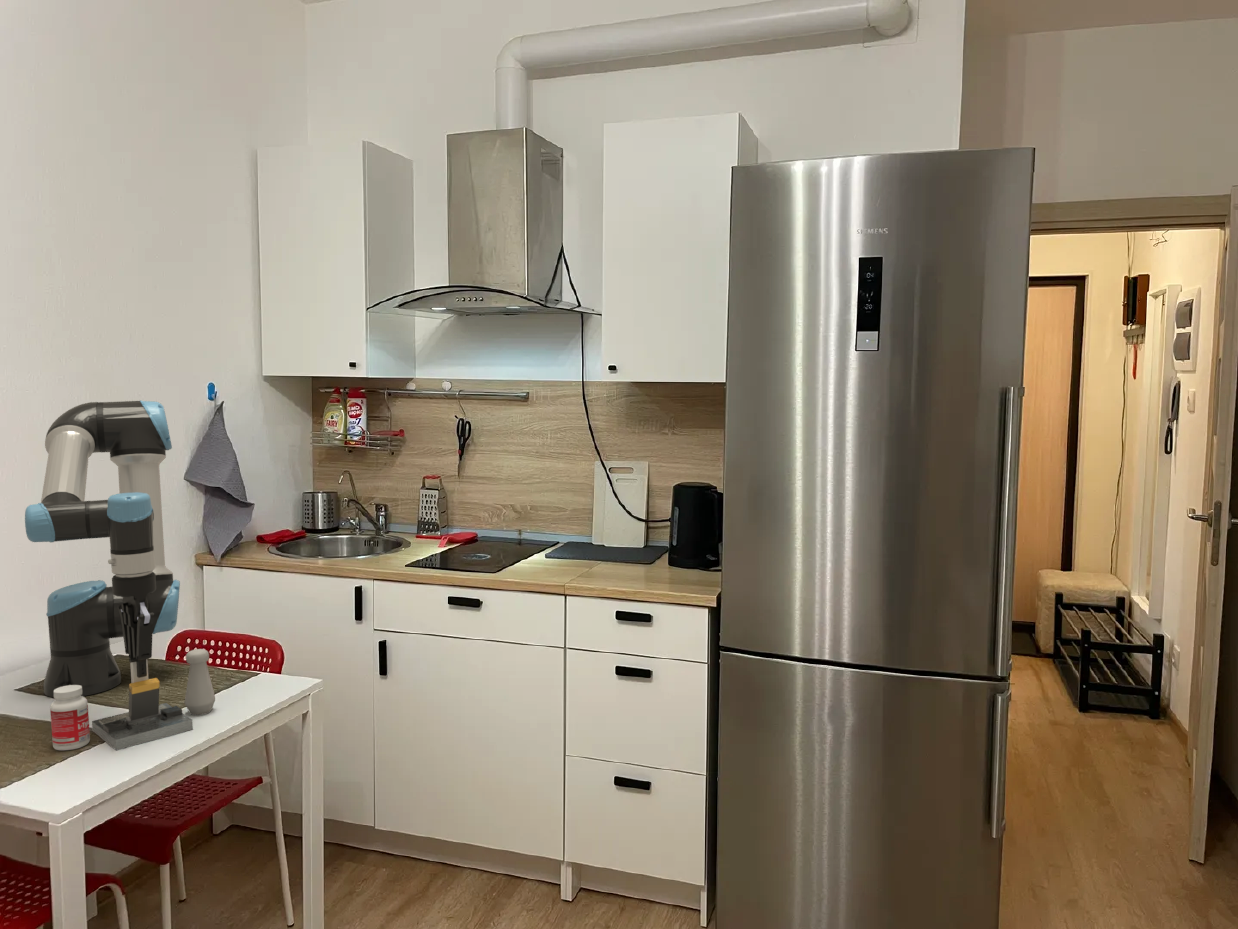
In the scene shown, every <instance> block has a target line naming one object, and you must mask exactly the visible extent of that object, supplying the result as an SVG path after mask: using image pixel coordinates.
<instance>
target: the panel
mask: <svg viewBox="0 0 1238 929" xmlns="http://www.w3.org/2000/svg"><path fill="white" fill-rule="evenodd" d="M159 710H160V712H161V715H160V716H157V717H153V718H149V719H145V720H141V721H137V722H133V723H129V724H127V722H126V718H127V717H128V715H129V711H127V712H123V713H120V714H119V713H118V714H114V715H111V716H107V717H103V718H100V719H94V720H91V729H92V732H93V733H95V735H97V736H98V737H99V738H100V739H102V740H103V741H104V742H106V743H107V744H108V745H109V746H111V747H112V748H113V749H114V750H116V751H118V750H122V749H125V748H129V747H133V746H136V745H139V744H144V743H147V742H152V741H156V740H159V739H162V738H166V737H170V736H174V735H177V734H181V733H185V732H188V731H193V730H194V725H193V719H192V718H190V717H189V716H188V715H186V714H184V713H183V709H182V708H181V707H179V706H178V705H174V706H172V705H170V704H168V703H167V702H165V703H159Z"/></svg>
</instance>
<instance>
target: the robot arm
mask: <svg viewBox="0 0 1238 929" xmlns="http://www.w3.org/2000/svg"><path fill="white" fill-rule="evenodd" d="M171 441H172V440H171V436H170V429H169V424H168V421H167V416H166V411H165V407H164V405H163V404H162V403H160V402H158V401H150V400H148V401H147V400H140V399H139V400H127V401H126V400H125V401H103V402H101V401H100V402H98V401H95V402H94V401H93V402H92V401H91V402H86V403H82V404H79V405H76V406H74V407H72V408H70V409H68V410H67V411H65V412H63V413H62V414H60V416H59V417H57V418H56V419H55V420H54V421H53V422H52V424H51V425H50V427H49V428H48V430H47V432H46V435H45V440H44V448H45V450H46V452H47V454H48V455H47V462H46V468H45V474H44V475H45V476H44V481H43V486H42V493H41V499H40V502H38V503H35V504H29V505H28V506H27V507H26V508H25V510H24V527H25V534H26V537H27V539H28V540H29V541H30V542H32V543H55V542H65V541H75V540H76V541H77V540H86V539H88V540H89V539H90V540H92V539H102V538H109V546H110V549H109V550H110V551H109V552H110V559H108V560H107V564H109V565H111V573H112V574H113V576H112V578H111V583H112V584H111V586H107V583H106V582H105V581H104V580H101V579H99V580H88V581H83V582H79V583H73V584H69V585H66V586H62V587H61V588H58V589H56V590H54V591H53V592H51V593H50V594H49V595H48V597H47V606H46V610H47V611H46V617H47V621H48V622H47V624H48V634H49V636H48V637H49V648H50V649H49V650H50V660H49V662H48V666H47V670H46V674H45V677H44V681H43V694H44V695H45V696H46V697H50V698H54V690H55V689H57V688H59V687H62V686H68V685H80V686H82V695H81V696H83V697H85V696H90V695H95V694H99V693H103V692H105V691H108V690H111V689H113V688H116V687H117V686H119V685H120V683H121V682H122V674H121V670H120V668H119V666H118V664H117V661H116V659H115V656H114V655H113V653H112V651H111V646H110V645H111V642H110V639H118V638H123V644H124V652H125V654H126V655H128V661H129V665H130V679H131V683H135V682H140V681H144V680H148V679H150V678H149V665H148V663H149V662H148V660H149V659H152V656H153V654H152V653H153V635H156V634H158V633H165V632H170V631H172V630H174V629H175V627H176V626H177V624H178V623H177V622H178V614H179V613H178V612H179V604H180V603H179V600H180V590H181V589H180V588H181V587H180V586H181V581H180V580H177V579H174V575H173V574H174V573H173V572H172V571H171V569H169V568H168V567H166V560H165V559H166V558H165V543H164V541H165V540H164V527H163V526H164V525H163V524H164V523H163V510H162V493H161V491H162V490H161V475H160V474H161V473H160V464H161V463H163V461H164V460H165V459H166V457H167V454H166V452H167V451H170V450H172V449H173V447H172V446H173V445H172V442H171ZM97 453H109V458H110V459H109V460H110V461H111V462H112V463H113V464H114V465H116V466H117V473H118V487H119V489H118V490H119V493H116V494H112V495H110V496H109V497H108V499H99V500H97V499H96V500H85V497H86V488H87V486H86V485H87V479H88V478H87V477H88V476H87V475H88V466H89V459H90V457H91V456H92V455H93V454H97Z"/></svg>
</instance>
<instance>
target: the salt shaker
mask: <svg viewBox="0 0 1238 929" xmlns="http://www.w3.org/2000/svg"><path fill="white" fill-rule="evenodd" d="M209 659H210V654H209V651H208V650H206V648H205V649H204V648H196V649H191V650H190V651H188V652H187V653H186V654H185V661H186V663H187V664H189V669H188V677H187V678H188V679H187V683H186V684H187V685H186V688H185V689H186V690H185V698H184V706H185V707H186V709H187V710H188V712H189V714H190V716H191V715H192V716H201V715H206V714H209V713H210V712H211V711H212V710H213V707H214V704H215V701H216V695H215V691H214V687H213V684H212V680H211V676H210V672H209V668H208V664H207V662H208V660H209Z"/></svg>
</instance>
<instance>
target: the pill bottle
mask: <svg viewBox="0 0 1238 929" xmlns="http://www.w3.org/2000/svg"><path fill="white" fill-rule="evenodd" d="M81 695H82V686H80V685H68V686H62V687H59V688H57V689H55V690H54V697H53V699H54V701H53V702H52V703H51V704H50V707H49V708H50V709H49V710H50V724H51V725H50V727H51V738H52V740H51V741H52V747H53V749H54V750H55V751H72V750H77V749H80V748H82V747H85V746H87V745H88V744H89V742H90V740H91V736H90V733H91V732H90V731H91V730H90V720H89V719H90V718H89V717H90V716H89V706H88V705H89V704H88V699H87V698H86V697H85V696H81Z"/></svg>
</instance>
